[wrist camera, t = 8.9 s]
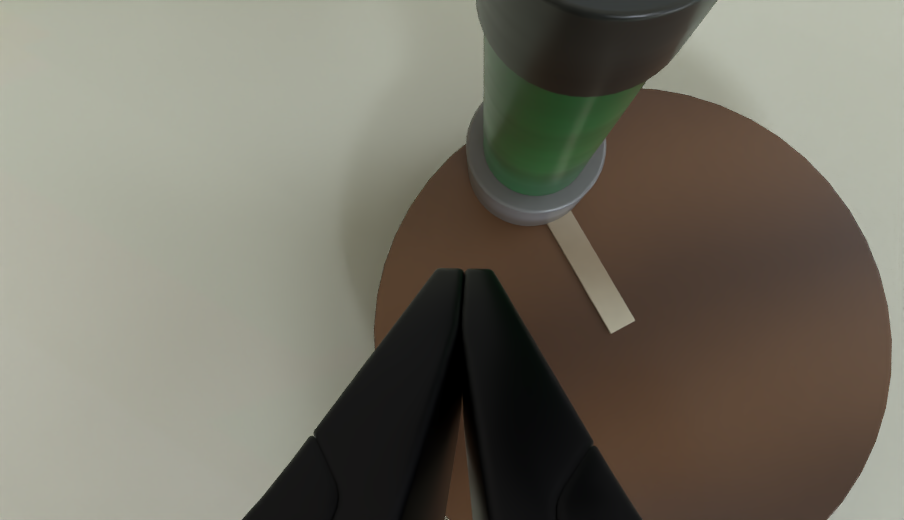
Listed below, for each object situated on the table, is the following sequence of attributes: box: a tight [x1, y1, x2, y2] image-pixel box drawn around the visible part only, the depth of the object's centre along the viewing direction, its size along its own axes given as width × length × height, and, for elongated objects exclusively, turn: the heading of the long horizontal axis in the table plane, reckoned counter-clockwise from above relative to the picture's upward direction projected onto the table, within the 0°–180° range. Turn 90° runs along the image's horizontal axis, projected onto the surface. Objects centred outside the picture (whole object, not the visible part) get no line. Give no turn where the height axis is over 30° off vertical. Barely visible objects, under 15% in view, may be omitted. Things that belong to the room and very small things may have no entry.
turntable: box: [374, 0, 892, 520], centre depth 10 cm, size 13×13×11 cm
